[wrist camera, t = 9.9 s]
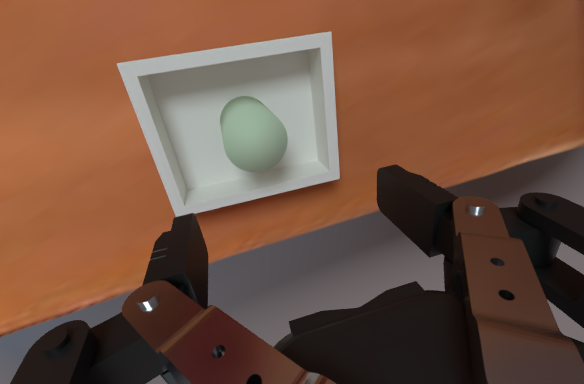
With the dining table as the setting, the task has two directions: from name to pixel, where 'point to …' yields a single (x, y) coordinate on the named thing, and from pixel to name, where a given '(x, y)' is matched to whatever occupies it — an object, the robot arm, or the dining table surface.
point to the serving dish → (207, 110)
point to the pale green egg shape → (252, 135)
